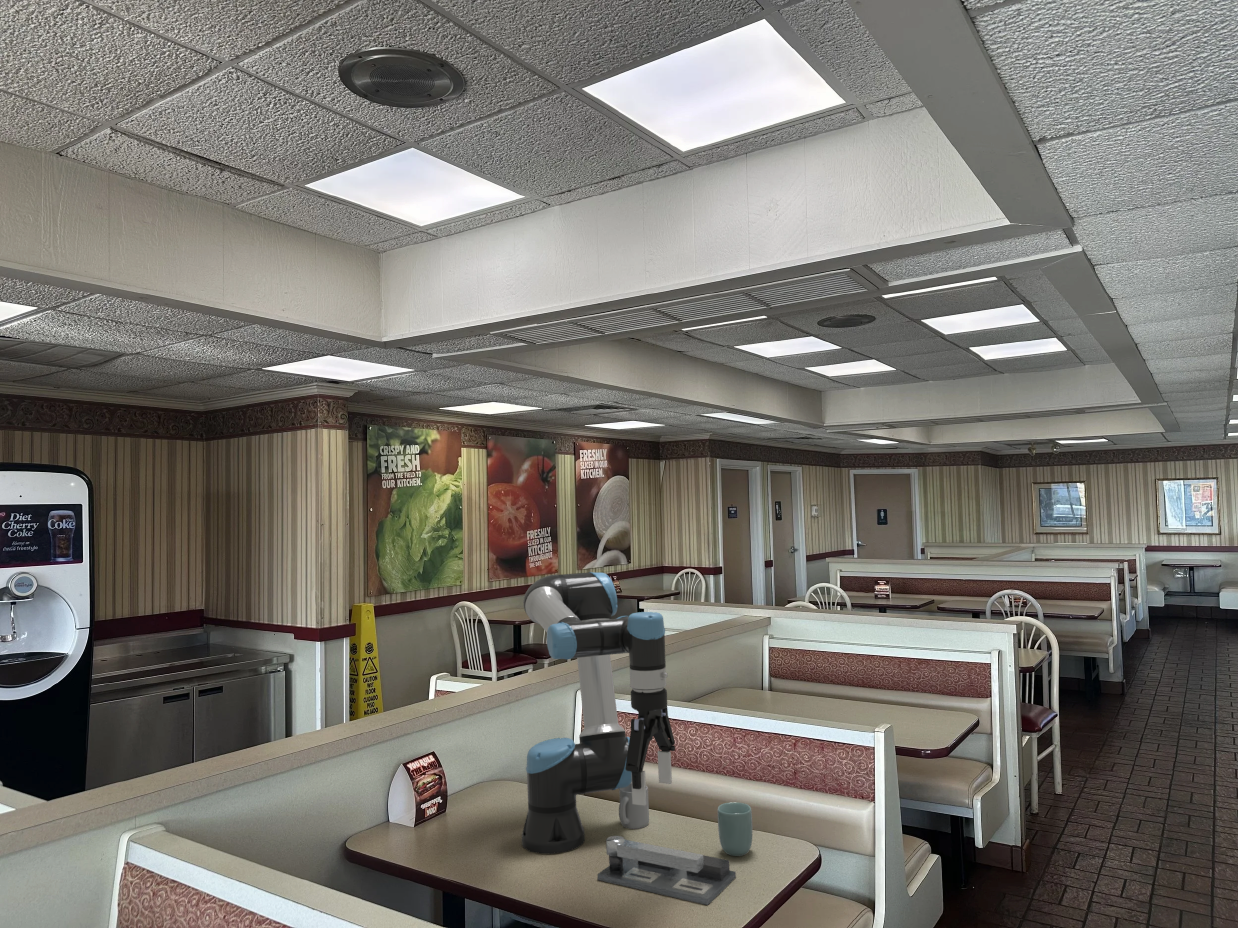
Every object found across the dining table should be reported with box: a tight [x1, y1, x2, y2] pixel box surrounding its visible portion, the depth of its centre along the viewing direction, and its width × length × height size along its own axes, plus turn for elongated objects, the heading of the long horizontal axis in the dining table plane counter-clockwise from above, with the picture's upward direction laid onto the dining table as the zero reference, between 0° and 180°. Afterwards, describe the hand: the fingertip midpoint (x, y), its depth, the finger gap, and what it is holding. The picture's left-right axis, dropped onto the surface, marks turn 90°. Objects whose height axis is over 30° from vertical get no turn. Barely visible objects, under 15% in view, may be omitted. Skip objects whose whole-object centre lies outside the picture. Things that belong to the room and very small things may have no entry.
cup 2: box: [717, 801, 753, 857], centre depth 191 cm, size 8×8×10 cm
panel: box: [597, 854, 737, 906], centre depth 179 cm, size 26×14×4 cm, turn 59°
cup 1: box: [618, 782, 650, 830], centre depth 210 cm, size 7×10×9 cm
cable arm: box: [605, 835, 704, 873], centre depth 178 cm, size 22×4×3 cm, turn 59°
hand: (652, 793), depth 171 cm, fingers open, 13 cm apart
